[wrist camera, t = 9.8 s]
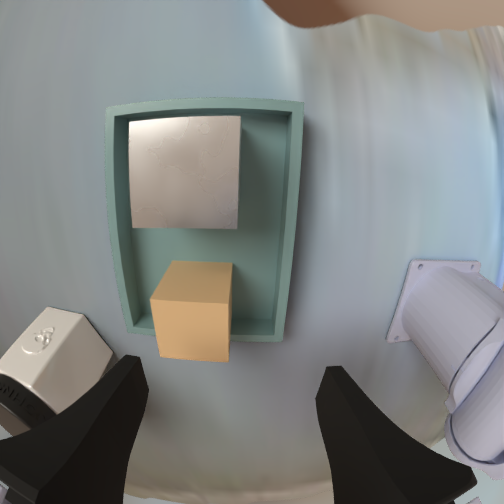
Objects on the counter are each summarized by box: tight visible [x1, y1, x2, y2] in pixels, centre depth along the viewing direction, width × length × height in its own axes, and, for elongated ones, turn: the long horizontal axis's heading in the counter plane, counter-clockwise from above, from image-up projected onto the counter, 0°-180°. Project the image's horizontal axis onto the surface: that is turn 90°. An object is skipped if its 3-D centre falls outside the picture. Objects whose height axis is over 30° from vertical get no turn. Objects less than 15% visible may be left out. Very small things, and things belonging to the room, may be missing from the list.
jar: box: [0, 307, 113, 436], centre depth 16 cm, size 9×8×12 cm
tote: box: [105, 97, 304, 342], centre depth 16 cm, size 11×15×2 cm
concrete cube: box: [129, 116, 242, 229], centre depth 13 cm, size 5×5×6 cm
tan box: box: [150, 261, 233, 362], centre depth 16 cm, size 4×4×5 cm
